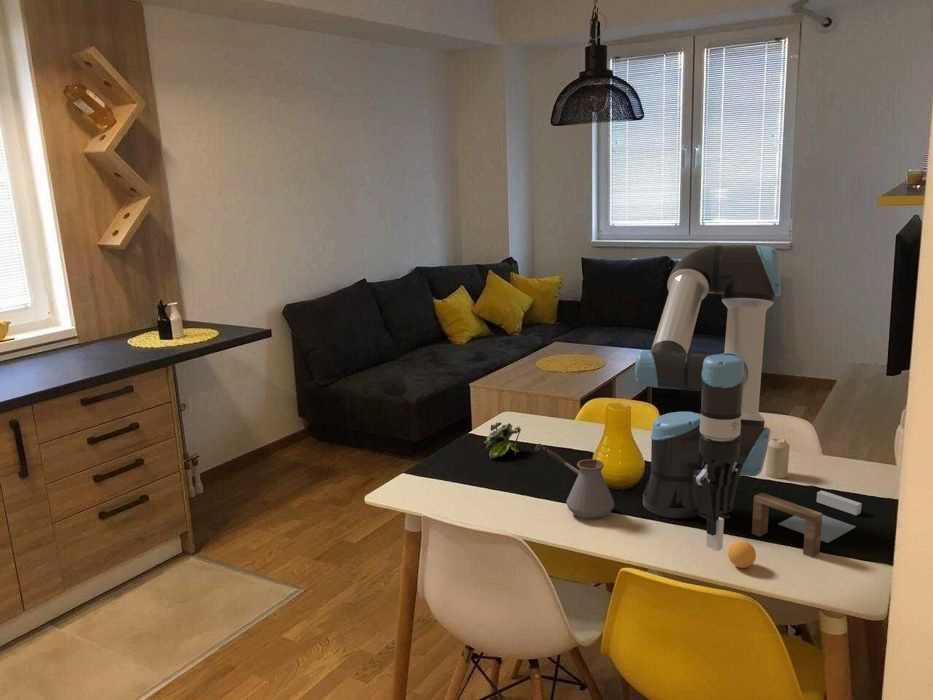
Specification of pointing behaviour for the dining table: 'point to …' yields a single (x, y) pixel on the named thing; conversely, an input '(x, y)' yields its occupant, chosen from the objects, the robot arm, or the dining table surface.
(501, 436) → the green leafy plant
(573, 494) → the coffee pot
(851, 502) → the wall
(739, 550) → the ball
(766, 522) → the bridge
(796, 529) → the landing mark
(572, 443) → the dining table surface
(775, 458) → the candle
